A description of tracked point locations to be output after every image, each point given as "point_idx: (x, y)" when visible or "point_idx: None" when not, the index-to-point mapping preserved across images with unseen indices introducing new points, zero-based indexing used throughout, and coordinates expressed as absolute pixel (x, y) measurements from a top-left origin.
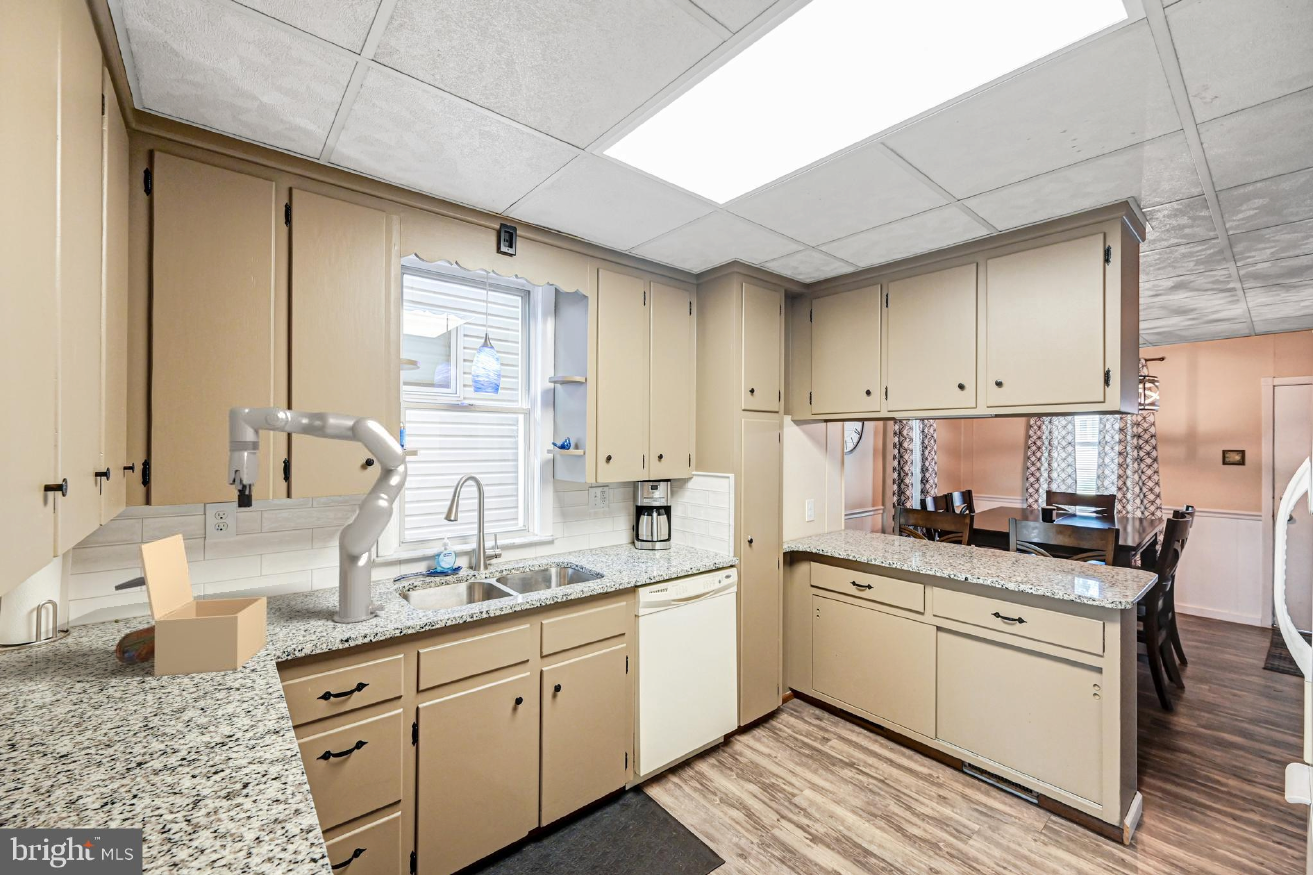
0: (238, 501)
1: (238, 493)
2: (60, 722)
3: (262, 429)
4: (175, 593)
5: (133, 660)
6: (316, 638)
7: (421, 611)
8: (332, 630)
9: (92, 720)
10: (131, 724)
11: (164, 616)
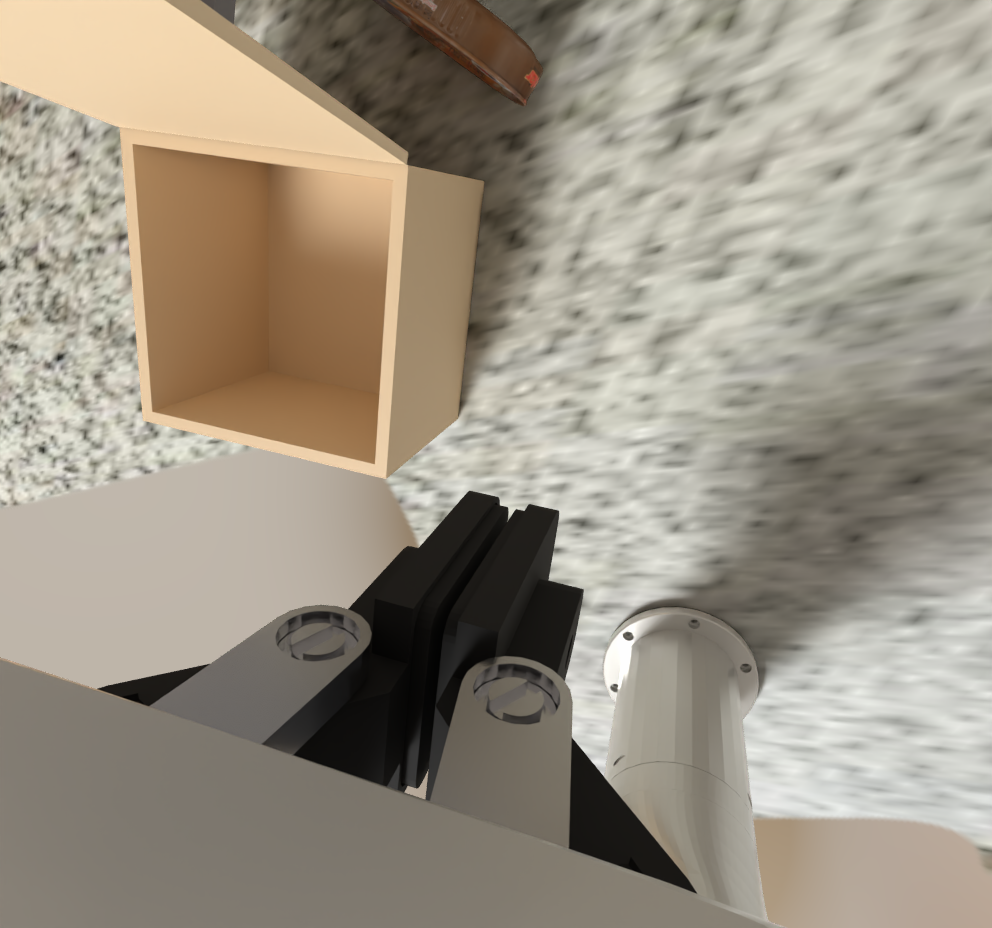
0: (436, 538)
1: (279, 638)
2: None
3: None
4: (227, 123)
5: (390, 4)
6: None
7: None
8: None
9: (25, 128)
10: (4, 233)
11: (170, 139)
